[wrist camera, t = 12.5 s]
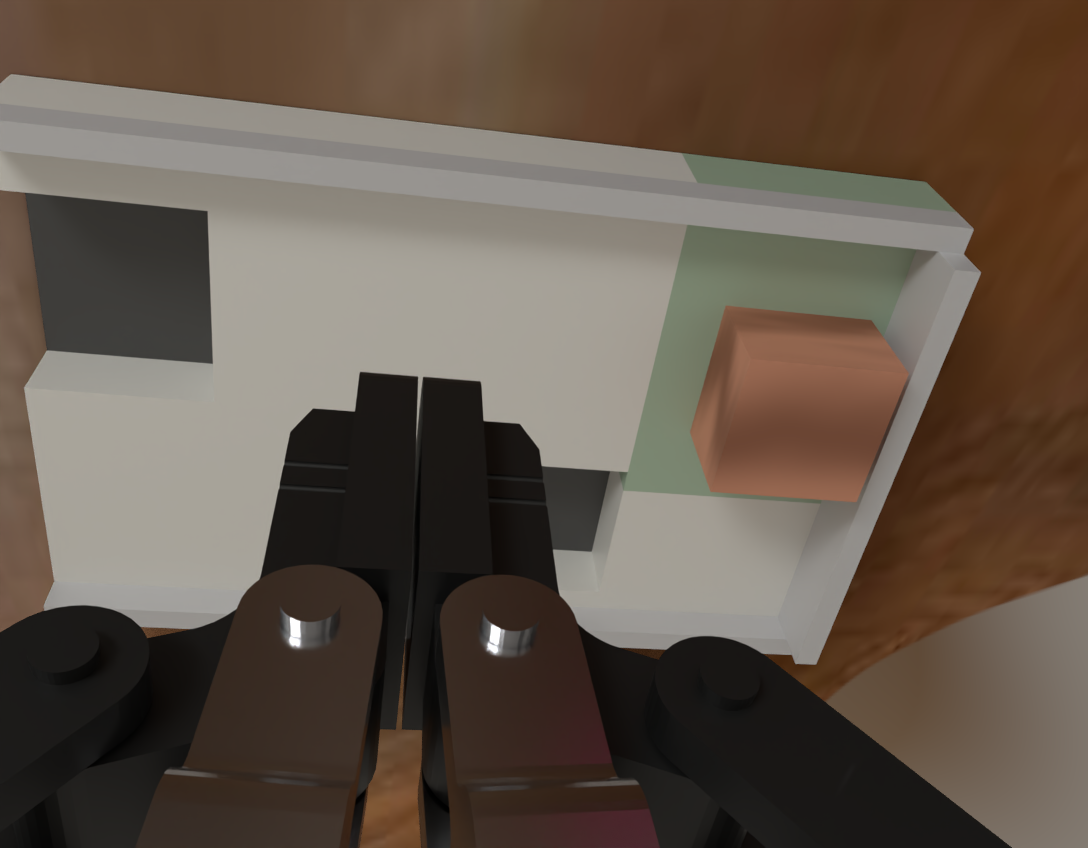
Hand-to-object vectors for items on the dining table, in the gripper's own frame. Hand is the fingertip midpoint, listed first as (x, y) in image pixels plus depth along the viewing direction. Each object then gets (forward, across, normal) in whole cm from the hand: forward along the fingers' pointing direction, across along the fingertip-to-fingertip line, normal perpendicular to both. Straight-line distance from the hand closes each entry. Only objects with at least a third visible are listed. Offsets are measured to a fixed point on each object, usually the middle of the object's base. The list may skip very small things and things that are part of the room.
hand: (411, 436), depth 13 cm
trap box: (+27, -3, +16) cm, 32 cm away
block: (+24, -15, +13) cm, 31 cm away
